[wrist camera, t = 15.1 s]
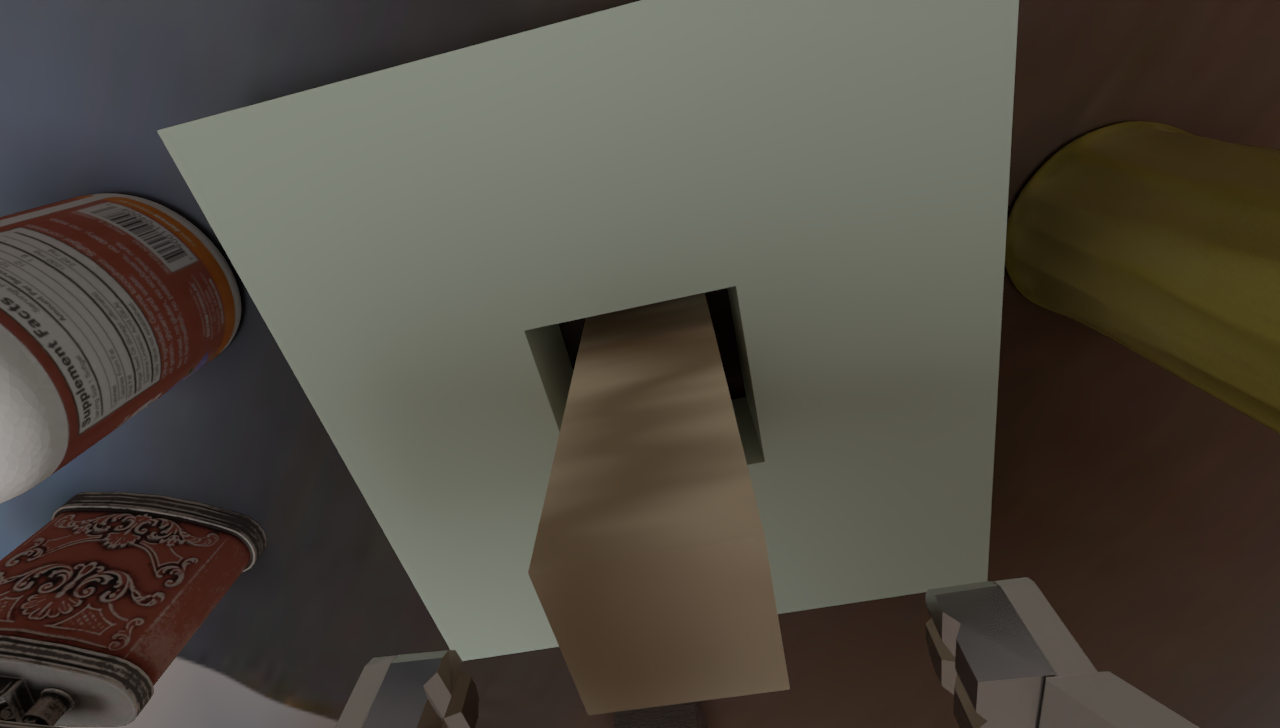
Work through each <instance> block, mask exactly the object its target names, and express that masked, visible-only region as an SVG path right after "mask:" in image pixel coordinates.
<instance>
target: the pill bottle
mask: <svg viewBox="0 0 1280 728" xmlns="http://www.w3.org/2000/svg"><path fill="white" fill-rule="evenodd" d="M240 319H241V297H240V293H239V288H238V285H237V282H236V279H235V277H234V275H233V273H232V271H231V269H230V267H229V265H228V263H227V261H226V260H225V258H224V257H223V255H222V254H221V252H220V251H219V250H218V249H217V247H216V246H215V245H214V244H213V243H212V242H211V240H210V239H209V238H208V237H207V236H206V235H205V234H204V233H203V232H202V231H200V230H199V229H198V228H197V227H196V226H194V225H193V224H192V223H191V222H189V221H188V220H187V219H185V218H184V217H182V216H181V215H179V214H177V213H176V212H174V211H172V210H170V209H168V208H166V207H164V206H163V205H160V204H158V203H156V202H153V201H150V200H147V199H144V198H140V197H136V196H131V195H125V194H116V193H102V194H92V195H86V196H80V197H75V198H71V199H67V200H63V201H60V202H56V203H52V204H48V205H45V206H41V207H37V208H34V209H30V210H26V211H22V212H18V213H15V214H11V215H7V216H3V217H0V503H3V502H5V501H7V500H10V499H12V498H14V497H16V496H18V495H21V494H22V493H24V492H26V491H28V490H29V489H31V488H33V487H34V486H36V485H37V484H39V483H40V482H42V481H43V480H45V479H46V478H47V477H49V476H50V475H52V474H53V473H55V472H56V471H57V470H59V469H60V468H62V467H63V466H65V465H66V464H68V463H69V462H70V461H72V460H73V459H74V458H76V457H77V456H79V455H80V454H81V453H83V452H84V451H86V450H87V449H88V448H90V447H91V446H93V445H94V444H95V443H97V442H98V441H100V440H101V439H102V438H104V437H105V436H106V435H108V434H109V433H111V432H112V431H113V430H115V429H116V428H118V427H119V426H121V425H122V424H123V423H125V422H126V421H127V420H129V419H130V418H131V417H133V416H134V415H135V414H137V413H138V412H140V411H141V410H143V409H144V408H146V407H147V406H148V405H150V404H151V403H152V402H154V401H155V400H156V399H158V398H159V397H161V396H162V395H163V394H165V393H166V392H168V391H169V390H171V389H172V388H173V387H175V386H176V385H177V384H179V383H180V382H182V381H183V380H184V379H186V378H187V377H189V376H190V375H191V374H193V373H194V372H196V371H197V370H198V369H200V368H201V367H203V366H204V365H206V364H207V363H208V362H210V361H211V360H212V359H214V358H215V357H216V356H217V355H218V354H220V353H221V352H222V351H223V350H224V349H225V348H226V347H227V346H228V345H229V343H230V342H231V341H232V339H233V337H234V336H235V334H236V331H237V329H238V326H239V323H240Z"/></svg>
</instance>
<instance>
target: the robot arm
mask: <svg viewBox="0 0 1280 728" xmlns="http://www.w3.org/2000/svg"><path fill="white" fill-rule="evenodd" d="M926 607H927V609H928V612H929V614H930V616H931V619H930V620H929V621H928V622H927V623H926V639H927V644H928V649H929V653H930V657H931V660H932V663H933V666H934V669H935V671H936V674H937V676H938V678H939V681H940V683H941V685H942V686H943V687H944V688H945V689H947V690H948V691H949V692H951V693H952V694H953V695H954V715H955V717H956V720H957V722H958V724H959V726H960V728H1199V727H1198V726H1196V725H1195V724H1193V723H1191V722H1190V721H1188V720H1187V719H1185V718H1183V717H1182V716H1180V715H1179V714H1177V713H1175V712H1174V711H1172V710H1170V709H1169V708H1167V707H1166V706H1164V705H1162V704H1161V703H1159V702H1158V701H1156V700H1154V699H1153V698H1151V697H1150V696H1148V695H1146V694H1145V693H1143V692H1142V691H1140V690H1138V689H1137V688H1135V687H1134V686H1132V685H1130V684H1129V683H1127V682H1126V681H1124V680H1122V679H1121V678H1119V677H1118V676H1116V675H1114V674H1113V673H1111V672H1110V671H1104V672H1098V671H1097V670H1096V669H1095V667H1094V666H1093V664H1092V663H1091V661H1090V660H1089V659H1088V657H1087V656H1086V654H1085V653H1084V652H1083V650H1082V649H1081V647H1080V646H1079V644H1078V643H1077V642H1076V640H1075V639H1074V637H1073V636H1072V635H1071V633H1070V632H1069V630H1068V629H1067V627H1066V626H1065V625H1064V623H1063V622H1062V620H1061V619H1060V618H1059V616H1058V615H1057V613H1056V612H1055V610H1054V609H1053V608H1052V606H1051V605H1050V603H1049V602H1048V600H1047V599H1046V598H1045V596H1044V595H1043V593H1042V592H1041V591H1040V589H1039V588H1038V586H1037V585H1036V583H1035V582H1034V581H1032V580H1031V579H1029V578H1028V577H1023V578H1015V579H1007V580H1000V581H993V582H991V581H986V582H979V583H971V584H964V585H957V586H950V587H943V588H935V589H928V591H927V593H926ZM462 662H463V661H462V660H461V658H460V656H459V655H458V653H457V652H456V650H447V651H437V652H426V653H416V654H405V655H395V656H386V657H378V658H373V659H372V660H371V661H370V662H369V663H368V664H367V665H366V666H365V667H364V669H363V671H362V673H361V675H360V677H359V679H358V681H357V683H356V685H355V687H354V689H353V692H352V694H351V696H350V698H349V700H348V702H347V704H346V706H345V708H344V710H343V712H342V714H341V716H340V718H339V720H338V723H337V725H336V727H335V728H475V727H476V723H477V719H478V708H479V697H478V692H477V688H476V685H475V683H474V681H473V679H472V677H470V676H468V675H467V674H465V673H463V672H461V671H460V668H461V665H462Z"/></svg>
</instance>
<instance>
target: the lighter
mask: <svg viewBox="0 0 1280 728" xmlns="http://www.w3.org/2000/svg"><path fill="white" fill-rule="evenodd" d="M266 542H267V539H266V536H265V533H264V531H263V530H262V528H261V527H260V526H259V524H258V523H256V522H255V521H254V520H252V519H251V518H250V517H247V516H245V515H243V514H240V513H236V512H232V511H229V510H225V509H222V508H218V507H214V506H211V505H207V504H203V503H198V502H193V501H188V500H182V499H177V498H172V497H167V496H160V495H149V494H138V493H126V492H85V493H80V494H77V495H76V496H74V497H73V498H72V499H70V500H69V501H68V502H67V503H65V504H64V505H63V506H61V507H60V508H59V509H58V510H56V511H55V512H54V514H53V516H52V521H50V522H49V523H48V524H46V525H45V526H44V527H43V528H41V529H40V530H39V531H38V532H36V533H35V534H34V535H32V536H31V537H30V538H29V539H27V540H26V541H25V542H24V543H22V544H21V545H20V546H18V547H17V548H16V549H15V550H13V551H12V552H11V553H10V554H8V555H7V556H6V557H4V558H3V559H2V560H1V561H0V728H62V727H56V726H67V727H117V726H124V725H127V724H129V723H131V722H133V721H134V720H135V718H136V717H137V716H138V714H139V713H140V712H141V711H142V709H143V708H144V707H145V705H146V704H147V703H148V701H149V700H150V699H151V697H152V695H153V693H154V689H153V686H154V685H155V683H156V682H157V681H158V679H159V678H160V677H161V676H162V674H163V673H164V672H165V670H166V669H167V668H168V667H169V665H170V664H171V663H172V661H173V660H174V659H175V658H176V656H177V655H178V654H179V652H180V651H181V650H182V649H183V647H184V646H185V645H186V643H187V642H188V641H189V640H190V638H191V637H192V636H193V634H194V633H195V632H196V631H197V629H198V628H199V627H200V625H201V624H202V623H203V622H204V620H205V619H206V618H207V616H208V615H209V614H210V613H211V611H212V610H213V609H214V607H215V606H216V605H217V604H218V602H219V601H220V600H221V598H222V597H223V596H224V595H225V593H226V592H227V591H228V589H229V588H230V587H231V586H232V584H233V583H234V582H235V580H236V579H237V578H238V577H239V575H240V574H241V573H242V572H245V571H246V570H248V569H250V568H251V567H252V566H253V564H254V563H255V562H256V561H257V559H258V558H259V557H260V555H261V554H262V553H263V551H264V549H265V548H266Z"/></svg>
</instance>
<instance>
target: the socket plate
mask: <svg viewBox="0 0 1280 728" xmlns="http://www.w3.org/2000/svg"><path fill="white" fill-rule="evenodd" d="M1018 9H1019V0H640V1H637V2H633V3H629V4H625V5H622V6H618V7H614V8H611V9H607V10H603V11H599V12H596V13H592V14H588V15H585V16H581V17H577V18H573V19H570V20H566V21H562V22H559V23H555V24H551V25H547V26H544V27H540V28H536V29H533V30H529V31H525V32H522V33H518V34H514V35H510V36H507V37H503V38H499V39H496V40H492V41H488V42H484V43H481V44H477V45H473V46H470V47H466V48H462V49H458V50H455V51H451V52H447V53H444V54H440V55H436V56H432V57H429V58H425V59H421V60H418V61H414V62H410V63H406V64H403V65H399V66H395V67H392V68H388V69H384V70H380V71H377V72H373V73H369V74H366V75H362V76H358V77H354V78H351V79H347V80H343V81H340V82H336V83H332V84H328V85H325V86H321V87H317V88H314V89H310V90H306V91H302V92H299V93H295V94H291V95H288V96H284V97H280V98H276V99H273V100H269V101H265V102H262V103H258V104H254V105H251V106H247V107H243V108H239V109H236V110H232V111H228V112H225V113H221V114H217V115H213V116H210V117H206V118H202V119H199V120H195V121H191V122H187V123H184V124H180V125H176V126H173V127H169V128H165V129H161V130H158V131H157V132H158V134H159V135H160V137H161V139H162V141H163V142H164V144H165V146H166V148H167V150H168V151H169V153H170V155H171V157H172V158H173V160H174V162H175V164H176V165H177V167H178V169H179V171H180V173H181V174H182V176H183V178H184V180H185V181H186V183H187V185H188V187H189V188H190V190H191V192H192V194H193V196H194V197H195V199H196V201H197V203H198V204H199V206H200V208H201V210H202V211H203V213H204V215H205V217H206V219H207V220H208V222H209V224H210V226H211V227H212V229H213V231H214V233H215V234H216V236H217V238H218V240H219V241H220V243H221V245H222V247H223V249H224V250H225V252H226V254H227V256H228V257H229V259H230V261H231V263H232V264H233V266H234V268H235V270H236V272H237V273H238V275H239V277H240V279H241V280H242V282H243V284H244V286H245V287H246V289H247V291H248V293H249V295H250V296H251V298H252V300H253V302H254V303H255V305H256V307H257V309H258V310H259V312H260V314H261V316H262V318H263V319H264V321H265V323H266V325H267V326H268V328H269V330H270V332H271V333H272V335H273V337H274V339H275V340H276V342H277V344H278V346H279V348H280V349H281V351H282V353H283V355H284V356H285V358H286V360H287V362H288V363H289V365H290V367H291V369H292V371H293V372H294V374H295V376H296V378H297V379H298V381H299V383H300V385H301V386H302V388H303V390H304V392H305V394H306V395H307V397H308V399H309V401H310V402H311V404H312V406H313V408H314V409H315V411H316V413H317V415H318V417H319V418H320V420H321V422H322V424H323V425H324V427H325V429H326V431H327V432H328V434H329V436H330V438H331V439H332V441H333V443H334V445H335V447H336V448H337V450H338V452H339V454H340V455H341V457H342V459H343V461H344V462H345V464H346V466H347V468H348V470H349V471H350V473H351V475H352V477H353V478H354V480H355V482H356V484H357V485H358V487H359V489H360V491H361V493H362V494H363V496H364V498H365V500H366V501H367V503H368V505H369V507H370V508H371V510H372V512H373V514H374V516H375V517H376V519H377V521H378V523H379V524H380V526H381V528H382V530H383V531H384V533H385V535H386V537H387V538H388V540H389V542H390V544H391V546H392V547H393V549H394V551H395V553H396V554H397V556H398V558H399V560H400V561H401V563H402V565H403V567H404V569H405V570H406V572H407V574H408V576H409V577H410V579H411V581H412V583H413V584H414V586H415V588H416V590H417V592H418V593H419V595H420V597H421V599H422V600H423V602H424V604H425V606H426V607H427V609H428V611H429V613H430V615H431V616H432V618H433V620H434V622H435V623H436V625H437V627H438V629H439V630H440V632H441V634H442V636H443V637H444V639H445V641H446V643H447V645H448V646H449V648H450V650H456V652H457V653H458V655H459V656H460V658H461V660H462V661H466V660H472V659H479V658H486V657H493V656H499V655H506V654H513V653H519V652H526V651H533V650H540V649H546V648H553V647H559V645H558V643H557V640H556V638H555V636H554V633H553V631H552V628H551V626H550V624H549V621H548V619H547V617H546V614H545V612H544V610H543V607H542V605H541V603H540V600H539V598H538V595H537V593H536V591H535V588H534V586H533V584H532V581H531V579H530V577H529V574H528V571H529V566H530V562H531V557H532V553H533V549H534V544H535V540H536V535H537V531H538V526H539V522H540V518H541V513H542V509H543V504H544V500H545V496H546V491H547V487H548V482H549V478H550V473H551V469H552V465H553V460H554V456H555V451H556V447H557V442H558V438H559V434H560V429H561V425H562V420H563V416H564V412H565V407H566V403H567V398H568V394H569V389H570V385H571V381H572V376H573V372H574V371H573V367H572V364H571V361H570V358H569V355H568V352H567V349H566V346H565V342H564V339H563V336H562V333H561V330H560V327H559V324H558V323H563V322H568V321H572V320H577V319H582V318H587V317H591V316H596V315H601V314H605V313H610V312H615V311H620V310H624V309H629V308H634V307H639V306H643V305H648V304H653V303H658V302H662V301H667V300H672V299H676V298H681V297H686V296H691V295H695V294H700V293H705V292H710V291H714V290H719V289H724V288H727V290H728V296H729V301H730V307H731V313H732V319H733V325H734V331H735V336H736V342H737V348H738V354H739V360H740V365H741V371H742V377H743V383H744V389H745V395H746V397H743V398H737V399H732V400H731V401H732V405H733V409H734V413H735V417H736V421H737V426H738V430H739V434H740V438H741V442H742V446H743V450H744V454H745V458H746V462H747V466H748V470H749V474H750V478H751V482H752V486H753V490H754V494H755V498H756V503H757V507H758V511H759V515H760V519H761V523H762V527H763V531H764V535H765V541H766V547H767V553H768V559H769V565H770V571H771V577H772V583H773V589H774V595H775V601H776V607H777V613H778V614H782V613H788V612H795V611H802V610H808V609H815V608H822V607H829V606H835V605H842V604H849V603H856V602H862V601H869V600H876V599H882V598H889V597H896V596H903V595H909V594H916V593H923V592H927V591H928V589H935V588H943V587H950V586H957V585H964V584H971V583H979V582H986V581H987V579H988V561H989V542H990V524H991V505H992V487H993V469H994V450H995V432H996V414H997V395H998V377H999V358H1000V340H1001V322H1002V303H1003V285H1004V266H1005V248H1006V230H1007V211H1008V193H1009V175H1010V156H1011V138H1012V119H1013V101H1014V83H1015V64H1016V46H1017V28H1018Z"/></svg>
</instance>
